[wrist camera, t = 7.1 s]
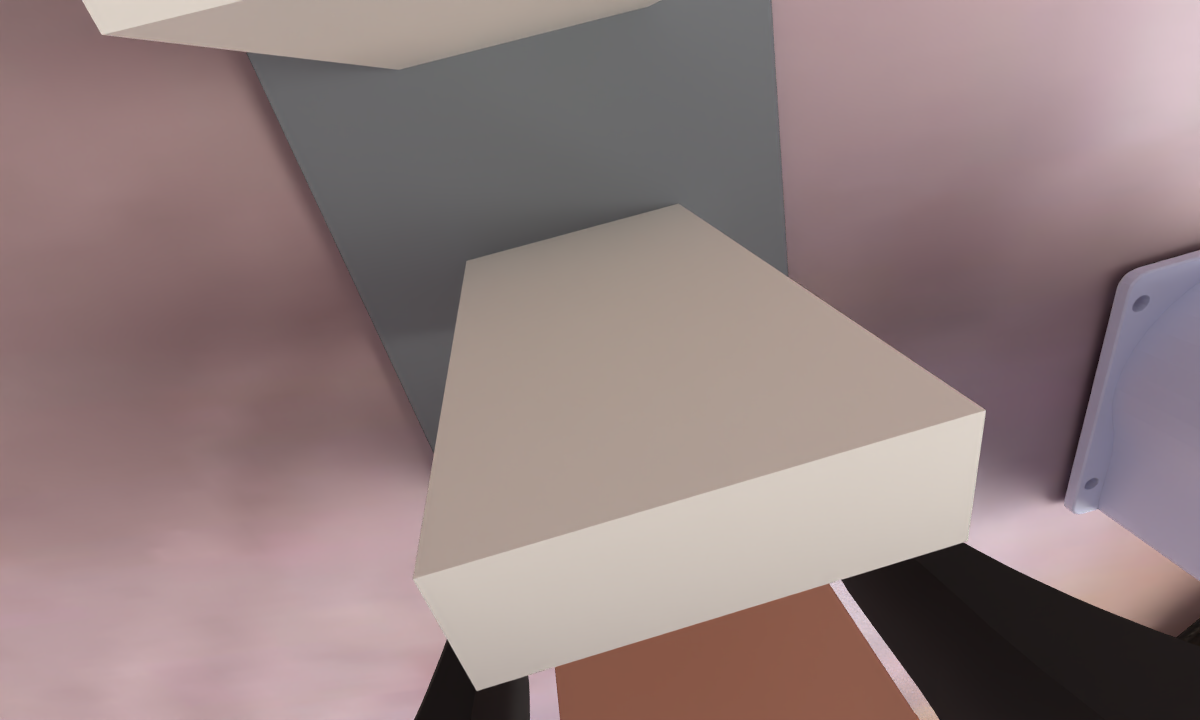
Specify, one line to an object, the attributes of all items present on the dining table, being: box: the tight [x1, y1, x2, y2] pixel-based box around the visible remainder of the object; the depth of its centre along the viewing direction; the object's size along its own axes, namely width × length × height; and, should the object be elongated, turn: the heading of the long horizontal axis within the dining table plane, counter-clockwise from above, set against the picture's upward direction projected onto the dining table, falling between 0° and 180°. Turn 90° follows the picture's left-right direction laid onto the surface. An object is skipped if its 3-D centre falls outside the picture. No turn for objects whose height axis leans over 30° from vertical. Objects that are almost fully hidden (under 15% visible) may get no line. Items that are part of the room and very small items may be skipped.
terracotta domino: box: [555, 584, 919, 720], centre depth 12 cm, size 2×5×9 cm, turn 104°
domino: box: [413, 204, 986, 691], centre depth 9 cm, size 2×5×9 cm, turn 103°
